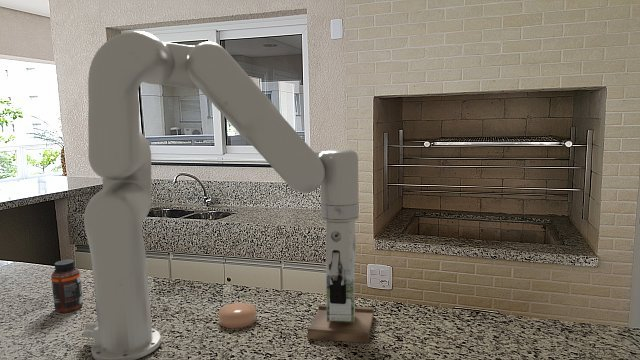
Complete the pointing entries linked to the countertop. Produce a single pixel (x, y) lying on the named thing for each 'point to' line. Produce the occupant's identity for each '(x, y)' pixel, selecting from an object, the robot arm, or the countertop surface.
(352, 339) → the brown flat square block
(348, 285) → the syrup box
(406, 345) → the countertop surface
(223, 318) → the peach smooth rounded part
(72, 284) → the supplement bottle
